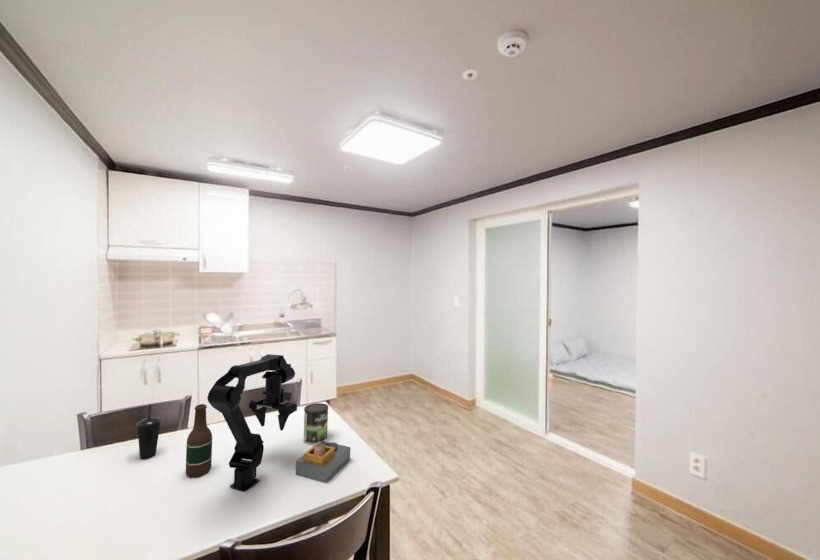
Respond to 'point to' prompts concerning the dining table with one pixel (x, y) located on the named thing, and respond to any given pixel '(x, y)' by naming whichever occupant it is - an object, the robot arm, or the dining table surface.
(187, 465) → the beer bottle
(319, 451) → the wooden plug
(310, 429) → the coffee can
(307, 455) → the grey block with socket
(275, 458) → the dining table surface
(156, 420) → the drinking cup
